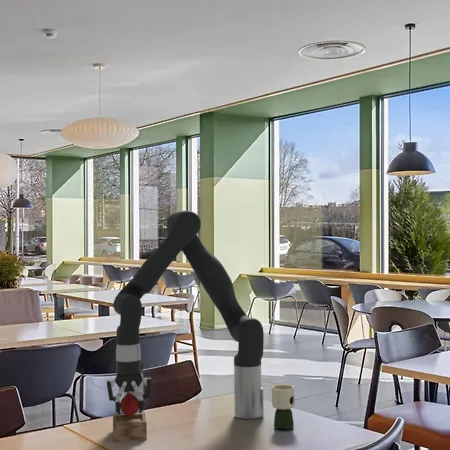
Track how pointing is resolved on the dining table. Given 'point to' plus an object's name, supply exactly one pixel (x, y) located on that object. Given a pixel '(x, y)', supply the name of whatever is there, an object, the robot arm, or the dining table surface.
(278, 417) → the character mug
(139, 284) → the robot arm
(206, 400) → the dining table surface
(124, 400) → the onion
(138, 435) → the base
